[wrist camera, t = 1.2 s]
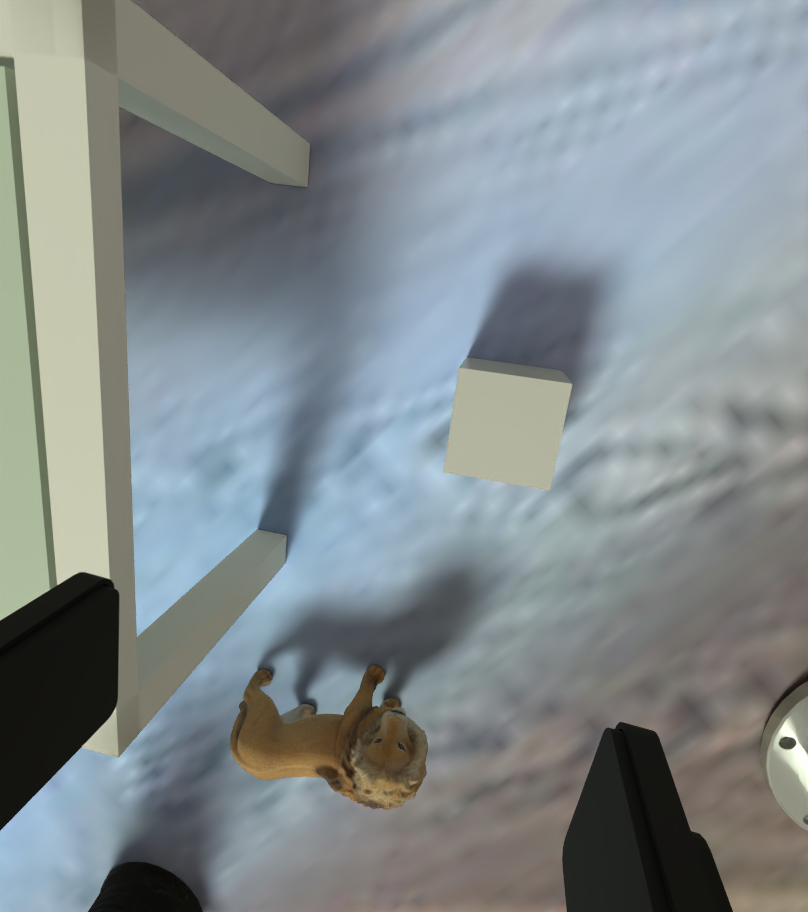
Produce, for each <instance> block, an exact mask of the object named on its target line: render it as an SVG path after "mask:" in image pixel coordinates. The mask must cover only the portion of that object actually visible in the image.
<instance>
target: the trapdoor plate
mask: <svg viewBox="0 0 808 912" xmlns="http://www.w3.org/2000/svg"><path fill="white" fill-rule="evenodd" d="M55 586H57V577H56V565H55V553H54V540H53V528H52V516H51V504H50V492H49V479H48V467H47V455H46V443H45V431H44V418H43V406H42V394H41V382H40V370H39V358H38V345H37V333H36V321H35V309H34V297H33V284H32V272H31V260H30V248H29V236H28V223H27V211H26V199H25V187H24V175H23V163H22V150H21V138H20V126H19V114H18V102H17V89H16V77H15V71H13V70H11V69H9V68H7V67H5V66H0V620H2V619H3V618H5V617H7V616H8V615H10V614H12V613H13V612H15V611H16V610H18V609H20V608H21V607H23V606H25V605H26V604H28V603H29V602H31V601H33V600H34V599H36V598H37V597H39V596H41V595H42V594H44V593H46V592H47V591H49V590H50V589H52V588H54V587H55Z"/></svg>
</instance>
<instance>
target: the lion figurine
mask: <svg viewBox="0 0 808 912" xmlns="http://www.w3.org/2000/svg"><path fill="white" fill-rule="evenodd" d="M384 673H385V672H384V671H383V670H382V669H381V668H380V667H377V666H376V665H372V666H371V667H370V668H368V670H367V671H366V672H365V674H364V676H363V679H362V682H361V685H360V689H359V691H358V692H357V694H356V696H355V698H354V699H353V700H352V702H351V703H350V705H349V706H348V707H347V708H346V710H345V712H344V715H338V714H317V715H316V712H315V708H314V707H313V706H311V705H309V704H302V705H300V706H298V707H297V708H295V709H293V710H291V711H289V712H287V713H285V714H283V715H281V716H280V715H279V713H278V710H277V708H276V706H275V704H274V702H273V701H272V699H271V698H270V697H269V696H268V695H266V694H265V693H264V692H263V691H261V690H260V689H259V687H264V686H268V685H269V684H270V683H271V680H272V675H271V674H270V672H269V671H267V670H265V669H261V670H258V671H257V672H256V673H255V674H254V675H253V677H252V678H251V680H250V682H249V684H248V686H247V688H246V690H245V693H244V696H243V698H244V701H243V702H241V703H240V705H239V708H240V713H239V715H238V717H237V719H236V721H235V724H234V727H233V730H232V733H231V739H230V748H231V753H232V755H233V757H234V759H235V760H236V762H237V763H238V764H239V765H240V766H242V768H243V769H244V770H245V771H247V772H248V773H250V774H252V775H253V776H255V777H257V778H260V779H262V780H274V779H280V778H286V777H318V778H324V779H326V780H327V782H328V784H329V785H330V787H331V788H332V789H333V790H334V791H336V792H339V793H341V794H342V795H343V796H349V797H350V799H351V800H352V801H357V803H359V804H360V803H362V804H363V806H365V807H367V806H369V807H371V808H373V809H376V808H383V809H391V808H398V807H401V806H403V805H404V803H405V801H406V800H407V799H414V798H415V796H416V792H417V790H418V788H419V787H420V785H421V784H422V781H423V778H424V777H425V775H426V773H427V772H426V765H425V761H426V755H427V750H428V743H427V737H426V735H425V732H424V730H422V729H421V728H420V727H418V725H417V724H416V723H415V722H414V721H413V720H411V719H409V718H408V717H406V713H405V710H404V709H403V708H401V707H400V704H399V702H398V701H397V700H396V699H387V700H385V701H384V702H383V703H382V704H381V705H380V707H379V708H378V706H375V707H372V696H373V692H374V690H375V689H376V686H377V684H379V683H381V682H382V681H383V680H384Z"/></svg>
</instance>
